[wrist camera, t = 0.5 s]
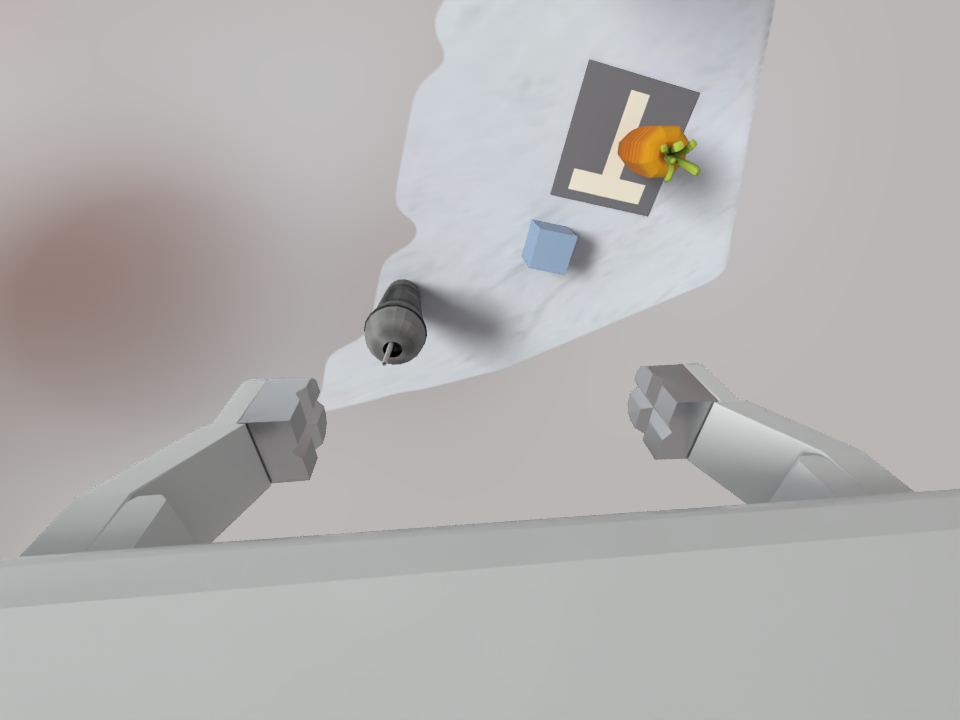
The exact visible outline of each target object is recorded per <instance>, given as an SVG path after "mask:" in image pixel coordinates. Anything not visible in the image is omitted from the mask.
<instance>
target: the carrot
mask: <svg viewBox="0 0 960 720" xmlns="http://www.w3.org/2000/svg"><path fill="white" fill-rule="evenodd" d="M696 145H697V143H696V141H695V140H694V139H693V140H692V141H691V142H689V141H688V140H687V138H686V136H685V135H684V133H683V131H682V130H681V128H680V127H679V126H677V125H667V126H644V127H639V128H636V129H634V130H632V131H630V132H629V133H628V134H627V135H626V136H625V137H624V138H623V139H622V140H621V141H620V142H619V146H618V156H619V157H620V158H621V160H622V161H623V162H624V164H625V165H626V166H627V167H628V168H629V169H630V170H631V171H632V172H634V173H637V174H639V175H641V176H644V177H647V178H659V177H666V178H665V181H664V182H669V181H670V180H671V178H672V176H673V173H674V171H675V170H676V169H677V168H679V167H680V166H681V167H683V168H684V169H685V170H687V171H688V172H690V173H691V174H693V175H695V176H697V175H698V174H699V172H700V168H699V167H698V166H696V165H695V164H693V163H691V162H689V161H687V160H685V156H686V154H687V153H688V152H690V151H691V150H693V149H694V148H695V147H696Z"/></svg>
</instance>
